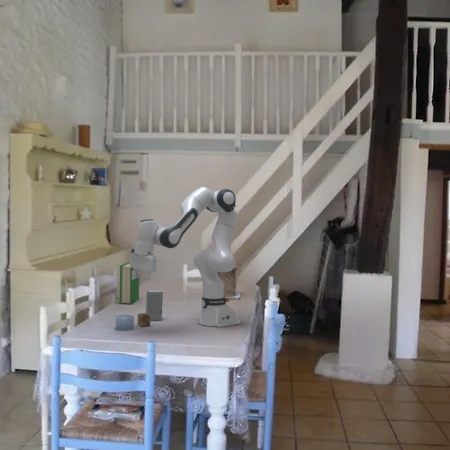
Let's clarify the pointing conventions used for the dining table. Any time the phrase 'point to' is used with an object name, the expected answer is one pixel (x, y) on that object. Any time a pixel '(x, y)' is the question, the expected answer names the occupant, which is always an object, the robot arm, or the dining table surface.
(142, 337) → the dining table surface
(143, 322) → the walnut block
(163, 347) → the dining table surface
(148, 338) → the dining table surface
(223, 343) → the dining table surface
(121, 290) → the hardback book
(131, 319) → the canister
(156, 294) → the skincare box
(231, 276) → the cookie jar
